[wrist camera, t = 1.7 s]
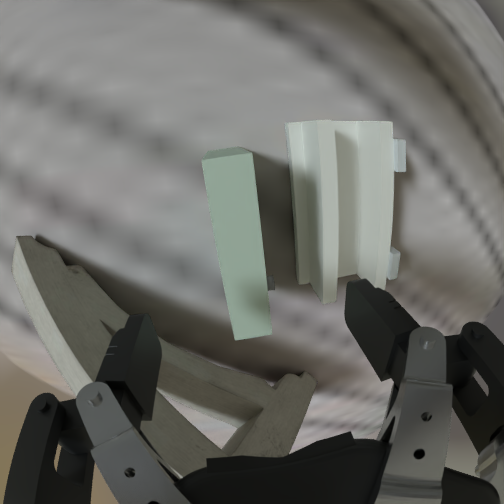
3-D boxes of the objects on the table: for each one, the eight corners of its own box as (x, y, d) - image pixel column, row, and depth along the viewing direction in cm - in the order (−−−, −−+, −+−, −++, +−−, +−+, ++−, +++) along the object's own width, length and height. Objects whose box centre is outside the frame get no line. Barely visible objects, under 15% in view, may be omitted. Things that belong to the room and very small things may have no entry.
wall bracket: (158, 233, 39) (317, 381, 31) (145, 256, 40) (295, 399, 32) (16, 236, 18) (252, 524, 10) (11, 270, 19) (219, 530, 12)
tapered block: (207, 151, 20) (201, 160, 12) (248, 145, 20) (268, 151, 12) (228, 276, 24) (234, 340, 17) (263, 270, 25) (284, 331, 17)
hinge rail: (284, 123, 20) (304, 120, 15) (372, 122, 20) (406, 122, 16) (296, 279, 25) (312, 310, 21) (370, 265, 26) (396, 290, 21)
